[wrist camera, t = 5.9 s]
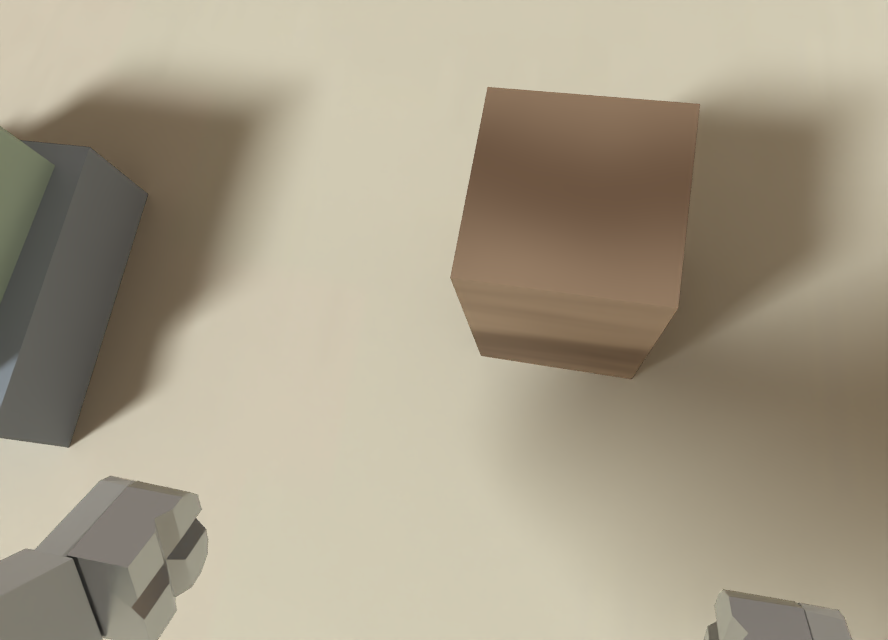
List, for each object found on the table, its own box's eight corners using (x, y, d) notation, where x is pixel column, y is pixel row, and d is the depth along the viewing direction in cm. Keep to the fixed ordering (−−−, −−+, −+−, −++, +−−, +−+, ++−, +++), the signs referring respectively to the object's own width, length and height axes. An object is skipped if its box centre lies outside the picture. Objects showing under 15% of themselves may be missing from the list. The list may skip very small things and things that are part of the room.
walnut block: (631, 379, 22) (678, 308, 14) (481, 355, 23) (450, 277, 15) (648, 238, 23) (699, 104, 16) (505, 221, 24) (487, 87, 17)
